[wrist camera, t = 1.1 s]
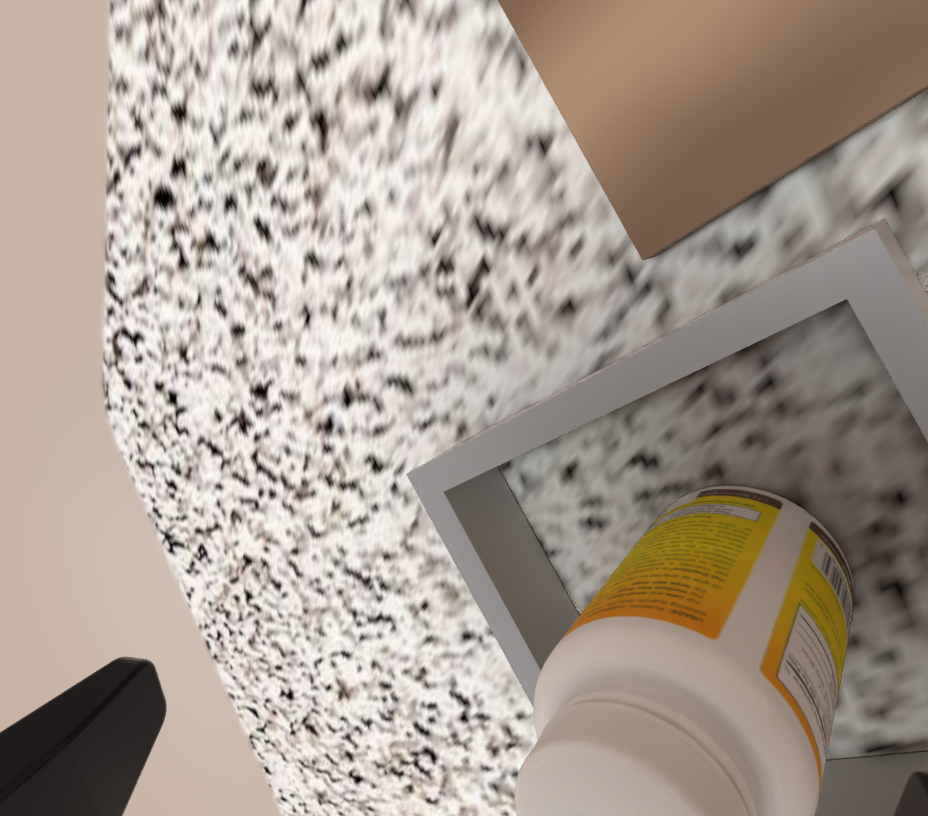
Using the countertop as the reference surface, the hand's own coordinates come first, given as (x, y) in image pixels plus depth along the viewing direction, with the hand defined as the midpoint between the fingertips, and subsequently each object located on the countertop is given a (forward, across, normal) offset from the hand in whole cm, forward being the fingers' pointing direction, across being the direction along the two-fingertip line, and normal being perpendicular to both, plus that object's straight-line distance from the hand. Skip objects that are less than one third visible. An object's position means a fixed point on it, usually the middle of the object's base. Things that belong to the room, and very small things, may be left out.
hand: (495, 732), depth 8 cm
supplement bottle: (+11, -6, +6) cm, 14 cm away
